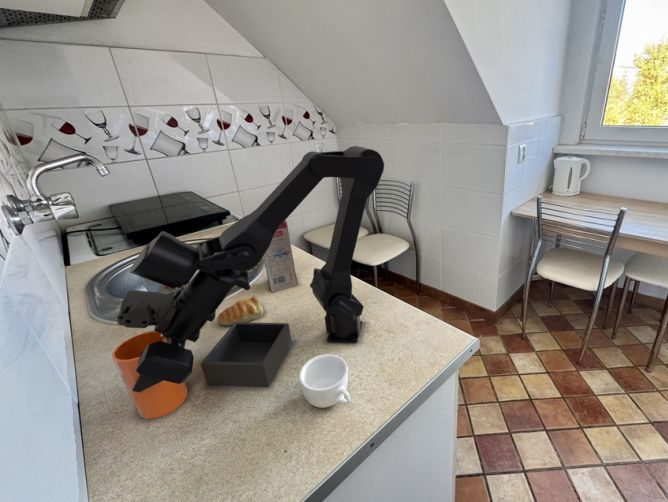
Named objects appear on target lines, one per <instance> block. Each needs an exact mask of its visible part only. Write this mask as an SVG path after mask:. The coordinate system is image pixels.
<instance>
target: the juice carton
mask: <svg viewBox="0 0 668 502" xmlns="http://www.w3.org/2000/svg"><path fill="white" fill-rule="evenodd" d="M291 244H292V243H291V238H290V232H289V228H288V222H287V219H286V220H285V221H284V222H283V223H282V224H281V225H280V226H279V228H278V229H277V231H276V232H275V234H274V236H273V239H272V241H271V244H270V246H269V248H268V249H267V251H266V253H265V254H264V256H263V257H262V259H263V263H264V266H265V267H264V268H265V272H266V277H267V281H268V284H269V286H270V290H271V293H273V292H276V291H280V290H284V289H289V288H291V287H296V286H298V279H297V273H296V268H295V262H294V256H293V250H292V245H291Z"/></svg>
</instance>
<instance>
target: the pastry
mask: <svg viewBox="0 0 668 502" xmlns="http://www.w3.org/2000/svg"><path fill="white" fill-rule="evenodd" d="M263 314H264V308H263V306H262V304H261V303H260V300H259V297H258V296H256V295H252V297H248V298H244V299H240V300H237V301H236V302H235V303H234V304H232V305H230V306H227V307H226V308H225V309H224V310H222V311H221V312H220V313H219V314H218V315H217V323H218V324H220V325H222V326H227V327H228V326H232V325H233V324H234V323H235V322H248V323H249V322H250V321H252V320H257V319H259V318H261V317H262V316H263Z"/></svg>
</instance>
